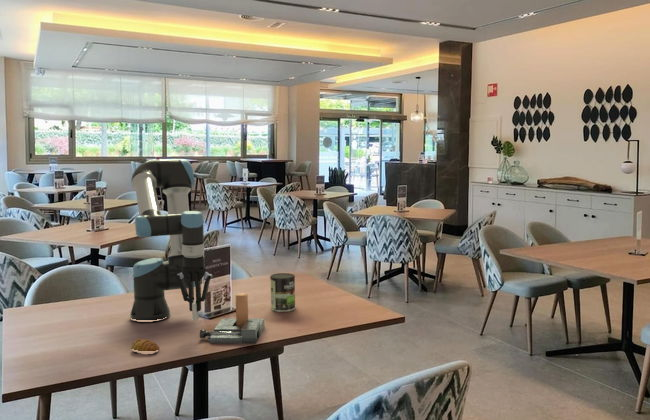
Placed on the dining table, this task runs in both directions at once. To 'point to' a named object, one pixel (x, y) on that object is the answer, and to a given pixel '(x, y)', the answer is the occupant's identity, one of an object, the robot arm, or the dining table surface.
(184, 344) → the dining table surface
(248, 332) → the dock
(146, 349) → the pastry
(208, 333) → the lock pin
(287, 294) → the coffee can
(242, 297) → the wooden block
